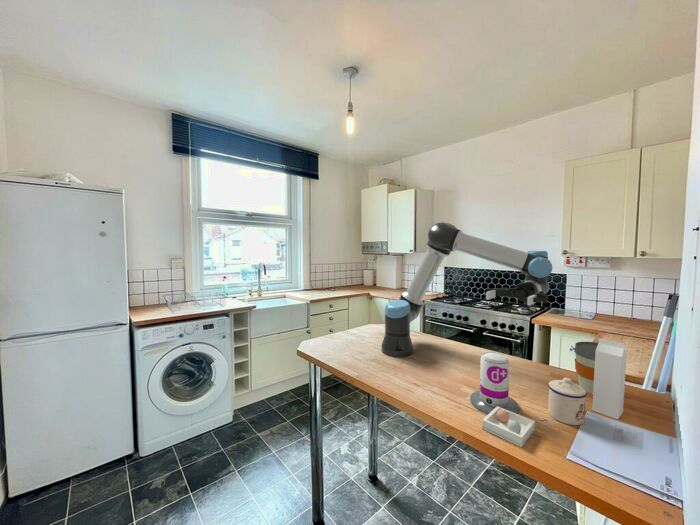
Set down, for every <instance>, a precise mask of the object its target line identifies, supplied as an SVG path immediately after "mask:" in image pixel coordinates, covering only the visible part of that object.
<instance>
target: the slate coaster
mask: <svg viewBox="0 0 700 525" xmlns="http://www.w3.org/2000/svg"><path fill="white" fill-rule="evenodd" d="M469 401H470V404H471V405H472V406H473V407H474V408H475V409H477V410H478V411H479V412H481V413H484V414H486V415H488V414H489V413H490V412H491V411H492V410H494V409H495V408H496V407H492V406H489V405H487V404H485V403H484V402H483V401H482V400H481V399H480V390H477V391H473V392H472V393H471V394H470V396H469ZM502 408H503V409H506V410H508V411H511V412H513V413H516V414H518V415H519V413H520V412H519V411H520V405H519V403H518V402H517V401H516V400H515V399H514V398H512V396H511V397H510V396H509V395H508V404H507V405H506V406H505V407H502Z"/></svg>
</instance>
